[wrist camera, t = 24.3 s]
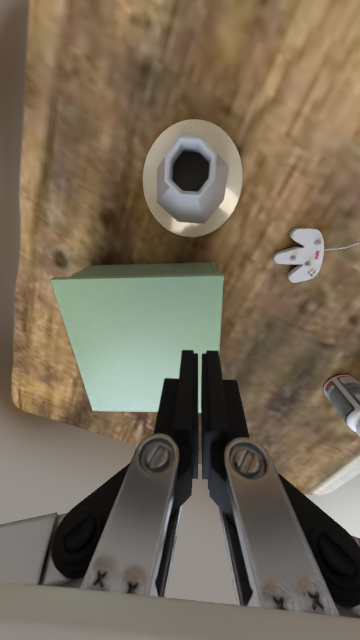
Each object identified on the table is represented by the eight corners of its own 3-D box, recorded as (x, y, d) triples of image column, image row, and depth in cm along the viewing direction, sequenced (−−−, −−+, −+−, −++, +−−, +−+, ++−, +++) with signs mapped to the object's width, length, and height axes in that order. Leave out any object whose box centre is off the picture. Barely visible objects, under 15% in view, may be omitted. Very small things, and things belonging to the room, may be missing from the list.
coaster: (138, 125, 20) (136, 122, 20) (246, 117, 20) (247, 115, 19) (148, 238, 25) (147, 238, 24) (237, 235, 24) (238, 235, 24)
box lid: (54, 277, 20) (49, 279, 19) (222, 273, 19) (223, 275, 18) (94, 406, 28) (92, 411, 27) (215, 408, 27) (216, 413, 26)
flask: (146, 207, 23) (116, 206, 14) (170, 124, 20) (152, 54, 11) (208, 235, 24) (217, 250, 15) (241, 160, 21) (277, 122, 12)
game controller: (265, 241, 24) (273, 244, 22) (379, 184, 22) (402, 181, 19) (280, 284, 26) (289, 291, 24) (385, 238, 24) (407, 241, 21)
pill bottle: (331, 401, 35) (370, 454, 27) (316, 384, 33) (352, 435, 26) (362, 386, 33) (411, 438, 25) (347, 368, 32) (395, 417, 24)
